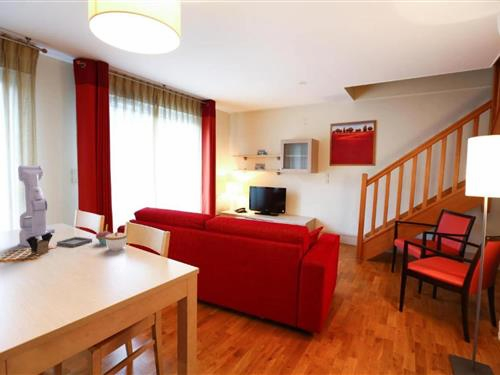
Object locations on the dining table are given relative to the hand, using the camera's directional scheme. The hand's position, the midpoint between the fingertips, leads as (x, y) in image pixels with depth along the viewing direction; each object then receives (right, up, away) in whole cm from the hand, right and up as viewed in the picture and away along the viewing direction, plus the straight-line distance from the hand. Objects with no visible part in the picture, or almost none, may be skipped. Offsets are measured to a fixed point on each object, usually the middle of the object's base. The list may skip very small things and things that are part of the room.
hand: (39, 249), depth 137 cm
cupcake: (+22, -1, +20) cm, 30 cm away
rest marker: (-1, -1, +9) cm, 9 cm away
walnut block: (0, -2, 0) cm, 2 cm away
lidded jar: (+34, -2, +10) cm, 36 cm away
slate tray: (+6, 0, +18) cm, 19 cm away
